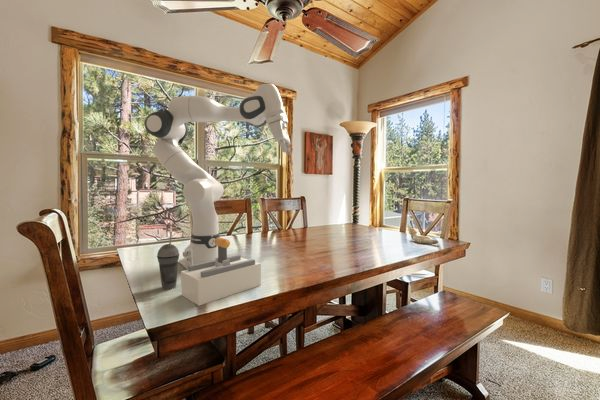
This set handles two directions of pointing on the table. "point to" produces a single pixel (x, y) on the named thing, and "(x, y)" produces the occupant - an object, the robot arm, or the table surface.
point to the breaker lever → (222, 248)
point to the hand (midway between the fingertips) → (286, 153)
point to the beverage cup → (168, 264)
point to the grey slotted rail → (220, 269)
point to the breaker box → (219, 282)
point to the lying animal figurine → (420, 237)
